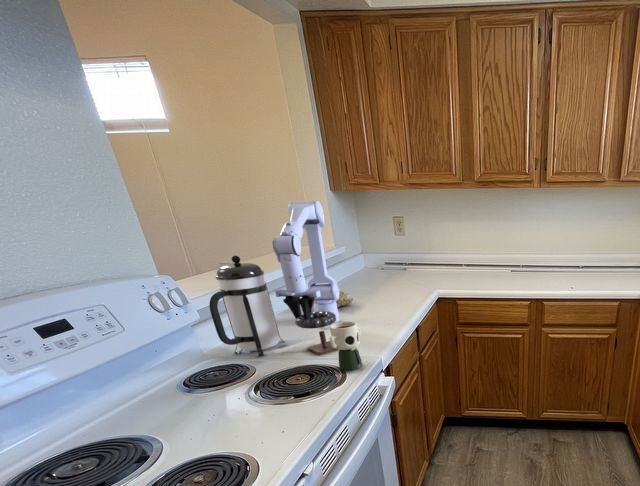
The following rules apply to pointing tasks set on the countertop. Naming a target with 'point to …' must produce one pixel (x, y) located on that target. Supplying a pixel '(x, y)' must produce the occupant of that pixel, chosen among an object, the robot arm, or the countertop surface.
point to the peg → (322, 346)
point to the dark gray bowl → (316, 320)
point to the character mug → (346, 344)
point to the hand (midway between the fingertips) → (303, 319)
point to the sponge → (343, 299)
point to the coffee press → (245, 307)
